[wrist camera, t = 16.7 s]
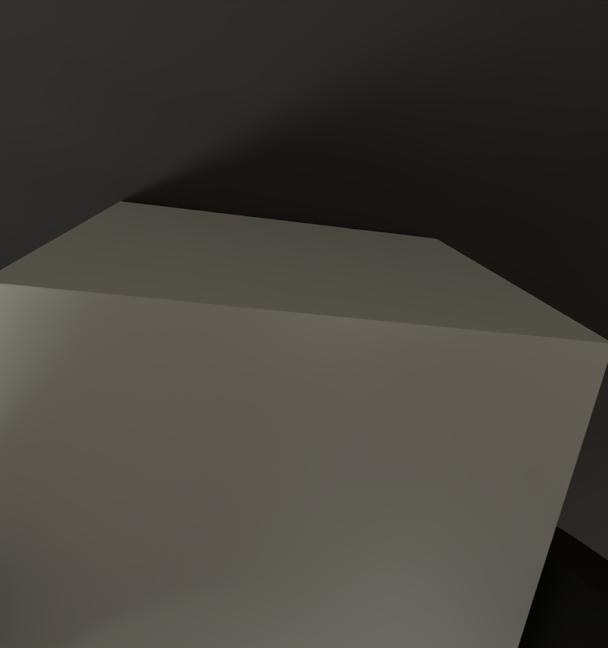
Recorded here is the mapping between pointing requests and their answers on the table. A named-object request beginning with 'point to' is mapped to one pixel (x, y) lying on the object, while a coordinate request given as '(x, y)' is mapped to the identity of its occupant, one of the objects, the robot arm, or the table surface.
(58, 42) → the table surface
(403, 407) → the pale grey carton
